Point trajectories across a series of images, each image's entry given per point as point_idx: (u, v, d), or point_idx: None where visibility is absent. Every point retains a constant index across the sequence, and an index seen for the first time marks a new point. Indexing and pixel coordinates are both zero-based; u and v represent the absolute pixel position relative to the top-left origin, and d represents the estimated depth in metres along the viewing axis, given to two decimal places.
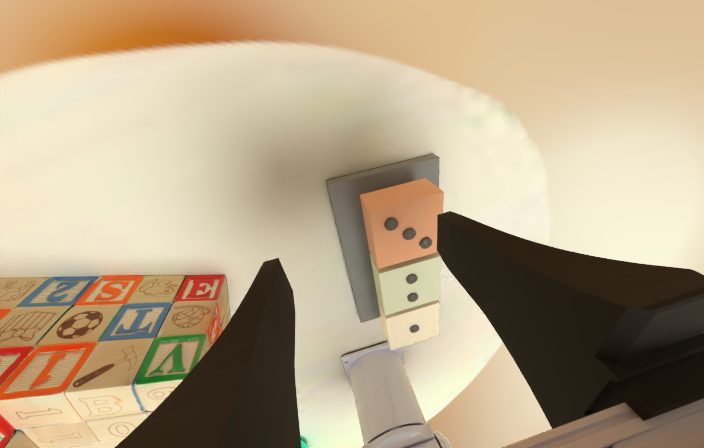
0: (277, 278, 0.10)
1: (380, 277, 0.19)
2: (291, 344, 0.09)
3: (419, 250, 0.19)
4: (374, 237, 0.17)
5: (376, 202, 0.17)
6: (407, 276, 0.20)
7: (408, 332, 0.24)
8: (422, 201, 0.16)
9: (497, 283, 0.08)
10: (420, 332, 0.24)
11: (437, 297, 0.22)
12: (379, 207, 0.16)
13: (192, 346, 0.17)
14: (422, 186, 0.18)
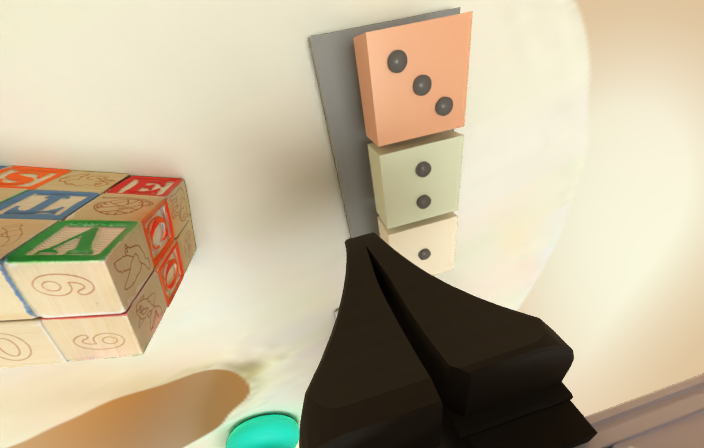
0: None
1: (381, 162, 0.14)
2: None
3: (434, 120, 0.14)
4: (373, 85, 0.12)
5: None
6: (417, 165, 0.15)
7: (416, 260, 0.19)
8: (442, 25, 0.11)
9: (397, 314, 0.08)
10: (431, 261, 0.19)
11: (454, 207, 0.17)
12: None
13: (114, 231, 0.11)
14: None
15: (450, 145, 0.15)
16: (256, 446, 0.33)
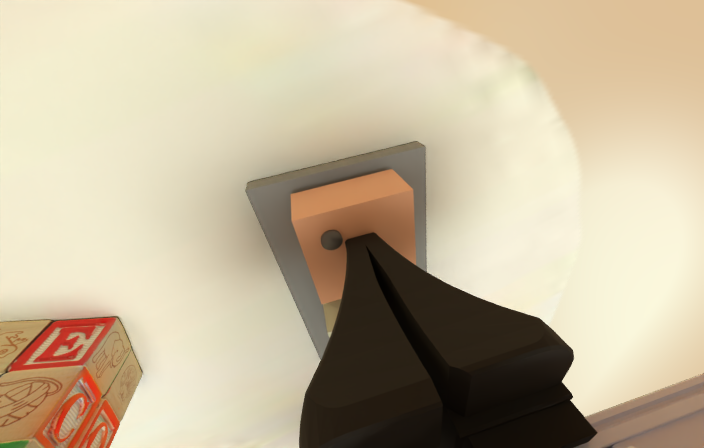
0: None
1: None
2: None
3: None
4: (307, 260, 0.11)
5: (308, 206, 0.11)
6: None
7: None
8: (379, 204, 0.10)
9: (397, 313, 0.08)
10: None
11: None
12: (309, 214, 0.10)
13: None
14: (383, 181, 0.11)
15: None
16: None
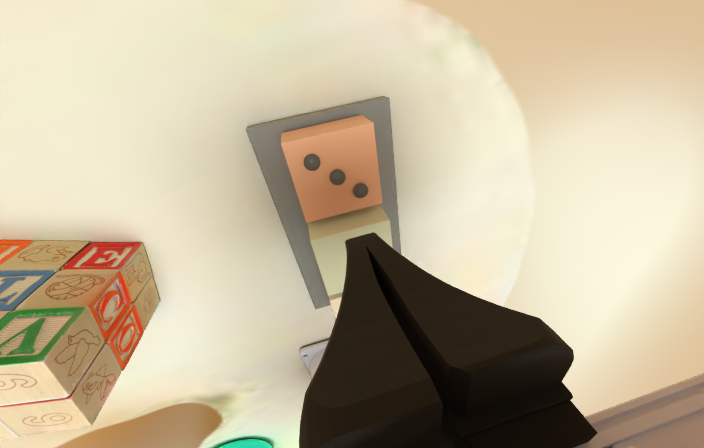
0: None
1: (313, 245, 0.15)
2: None
3: (354, 200, 0.16)
4: (294, 180, 0.14)
5: (294, 136, 0.14)
6: None
7: None
8: (348, 133, 0.14)
9: (397, 314, 0.08)
10: None
11: None
12: (294, 140, 0.13)
13: (60, 321, 0.13)
14: (353, 120, 0.15)
15: (378, 228, 0.16)
16: None
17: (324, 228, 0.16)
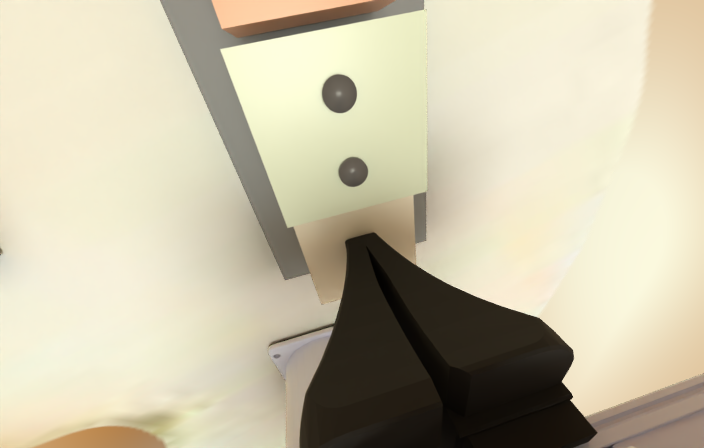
0: None
1: (231, 69, 0.06)
2: None
3: None
4: None
5: None
6: (324, 83, 0.07)
7: None
8: None
9: (397, 314, 0.08)
10: None
11: (420, 186, 0.09)
12: None
13: None
14: None
15: (397, 35, 0.06)
16: None
17: None
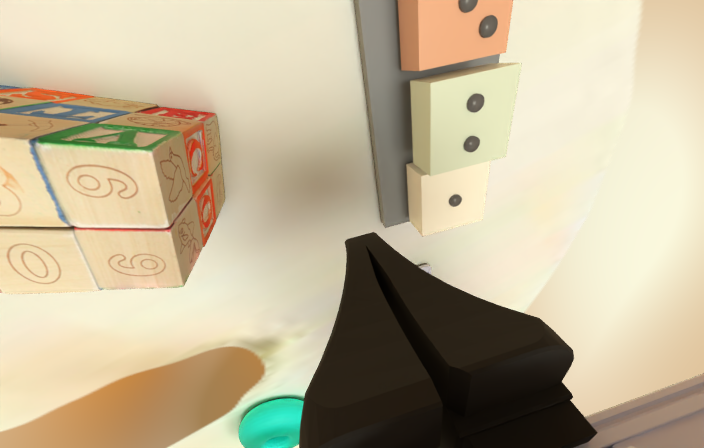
0: None
1: (431, 92, 0.13)
2: None
3: (477, 43, 0.13)
4: None
5: None
6: (469, 98, 0.13)
7: (446, 207, 0.18)
8: None
9: (397, 313, 0.08)
10: (461, 210, 0.19)
11: (502, 153, 0.16)
12: None
13: (155, 136, 0.10)
14: None
15: (506, 75, 0.13)
16: (271, 430, 0.32)
17: (440, 78, 0.13)
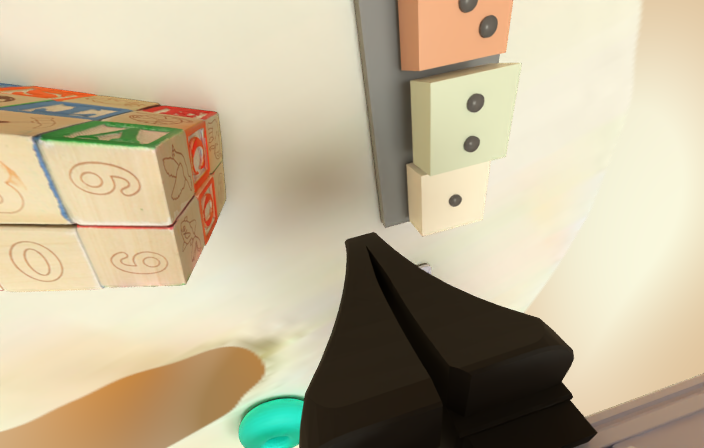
0: None
1: (431, 92, 0.13)
2: None
3: (477, 43, 0.13)
4: None
5: None
6: (469, 98, 0.13)
7: (446, 207, 0.18)
8: None
9: (397, 313, 0.08)
10: (461, 210, 0.19)
11: (502, 153, 0.16)
12: None
13: (158, 133, 0.10)
14: None
15: (506, 75, 0.13)
16: (271, 430, 0.32)
17: (440, 78, 0.13)
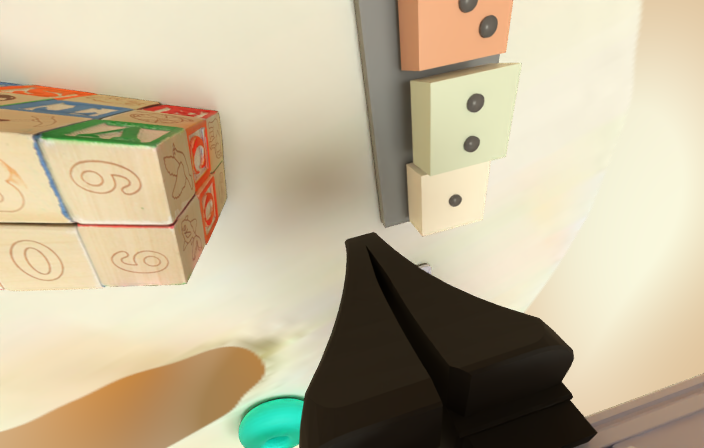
0: None
1: (431, 92, 0.13)
2: None
3: (477, 43, 0.13)
4: None
5: None
6: (469, 98, 0.13)
7: (446, 207, 0.18)
8: None
9: (397, 313, 0.08)
10: (461, 210, 0.19)
11: (502, 153, 0.16)
12: None
13: (159, 132, 0.10)
14: None
15: (506, 75, 0.13)
16: (271, 430, 0.32)
17: (440, 78, 0.13)
